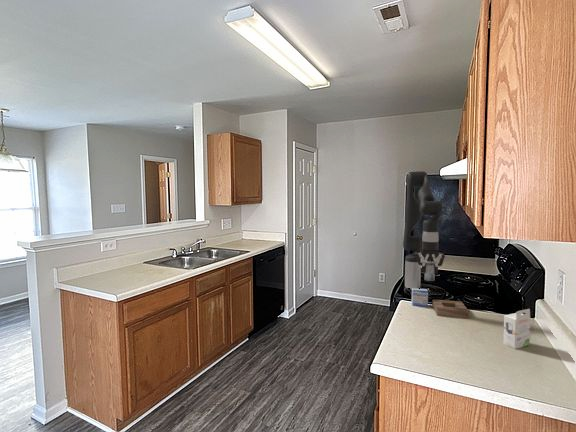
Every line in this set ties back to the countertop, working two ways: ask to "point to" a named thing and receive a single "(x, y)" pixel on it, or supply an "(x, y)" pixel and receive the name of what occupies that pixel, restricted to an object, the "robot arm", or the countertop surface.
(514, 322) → the ink box
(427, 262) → the cylinder
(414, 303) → the medicine box
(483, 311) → the countertop surface
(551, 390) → the countertop surface
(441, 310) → the jig
